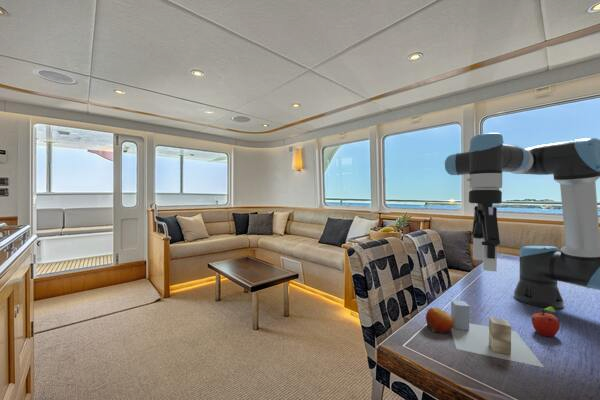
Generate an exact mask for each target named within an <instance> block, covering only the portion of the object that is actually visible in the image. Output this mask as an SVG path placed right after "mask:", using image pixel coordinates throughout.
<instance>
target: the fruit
mask: <svg viewBox="0 0 600 400" xmlns="http://www.w3.org/2000/svg"><path fill="white" fill-rule="evenodd" d="M425 314H426V315H425V319H426V320H425V321H426V324H427V325H426V326H427V327H428V328H430V330H431V331H432V333H441V334H446V333H449V332H451V329H452V327H453V325H454V320H453V318H452V317H451V314H449V313H447V312H446V310H443V309H442V308H439V307H430V308H429V309H427V312H426V313H425Z"/></svg>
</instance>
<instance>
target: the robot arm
mask: <svg viewBox="0 0 600 400" xmlns="http://www.w3.org/2000/svg"><path fill="white" fill-rule="evenodd" d="M444 169H445V172H446V173H447V174H448V175H450V176H463V175H464V176H465V175H469V177H467V178H466V181H467V182H469V185H468V186H469V187H468V188H469V189H471V190H469V191H468V203H469V204H477V205H475V206H474V208H473V209H474V213H473V223H472V231H471V234H472V238H473V239H472V241H473V242H472V244H473V245H472V260H474V261H475V260H476V261H482V270H483V271H485V272H486V271H487V272H497V261H498V260H497V259H498V245H501V240H500V233H499V224H498V217H497V216H498V215H497V211H498V209H497V207H496V206H493V204H494V205H496V204H498V205H501V204H502V202H503V201H502V200H503V199H502V198H503V195H502V194H503V191H502V190H501V189H502V188H503V173H509V172H510V173H511V174H514V175H538V176H539V175H541V176H543V175H545V176H548V175H553V180H554V181H555V182H556V183H559V185H560V186H559V187H560V188H559V189H560V200H561V209H562V219H563V230H564V231H563V232H564V240H565V242H564V243H565V245H564V246H563V247H561V248H560V251H559V248H558V247H557V246H551V245H525V246H522V247H521V248H520V249H519V255H518V258H519V279H518V281H517V283H516V286H515V289H514V291H513V297H514V299H515V300H516V299H517V300H518V301H520V302H522V303H525V304H528V305H532V306H536V307H541V308H547V307H553V308H554V309H562V308H564V298H563V297H562V294H561V292H560V289H559V286H558V282H561V283H566V284H570V285H574V286H578V287H583V288H586V289H592V290H593V289H594V290H597V291H600V225H599V222H600V221H599V211H598V197H597V196H598V195H597V185H596V182H597V180H599V178H600V139H599V138H596V137H588V138H578V139H571V140H567V141H559V142H554V143H547V144H540V145H534V146H530V147H527V148H523V147H522V146H521V147H520V146H518V145H515V144H514V145H511V144H504V138H503V135H502V134H501V133H499V132H489V133H487V132H486V133H481V134H477V135H475V136H472V137H471V138H470V142H469V150H468V151H466V152H465V151H464V152H456V153H455V154H454V153H452V154H450V155H448V156H447V157H446V158H445V161H444Z"/></svg>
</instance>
